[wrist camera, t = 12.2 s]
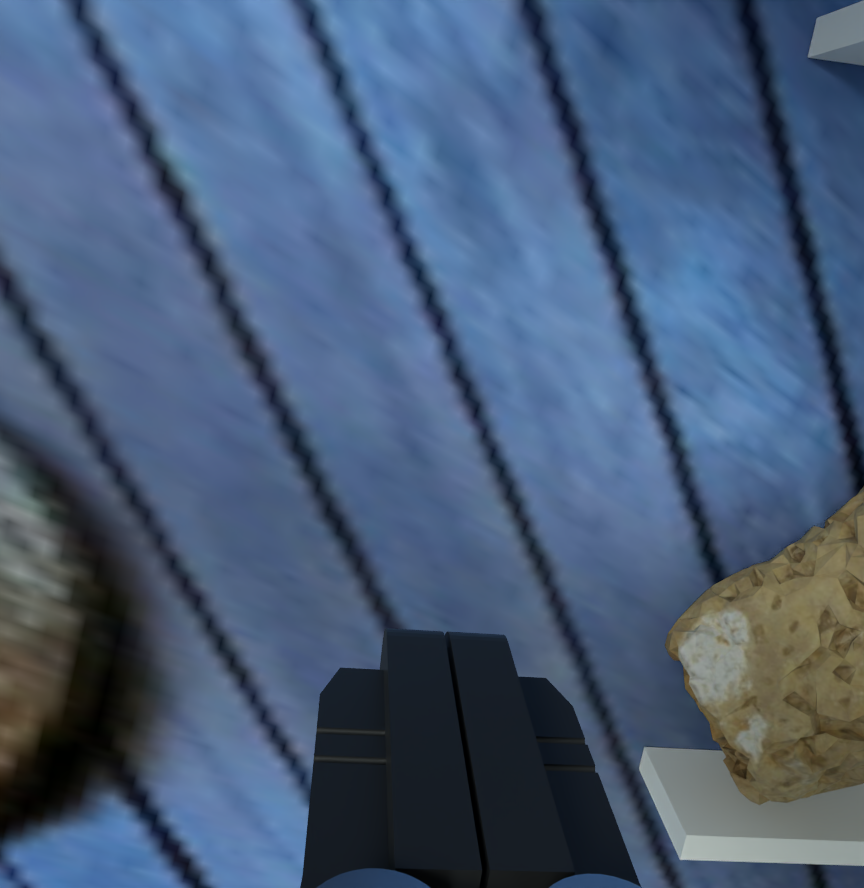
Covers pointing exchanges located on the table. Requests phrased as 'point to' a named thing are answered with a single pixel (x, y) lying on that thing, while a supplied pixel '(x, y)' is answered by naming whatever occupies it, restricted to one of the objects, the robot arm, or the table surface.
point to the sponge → (785, 664)
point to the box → (703, 771)
